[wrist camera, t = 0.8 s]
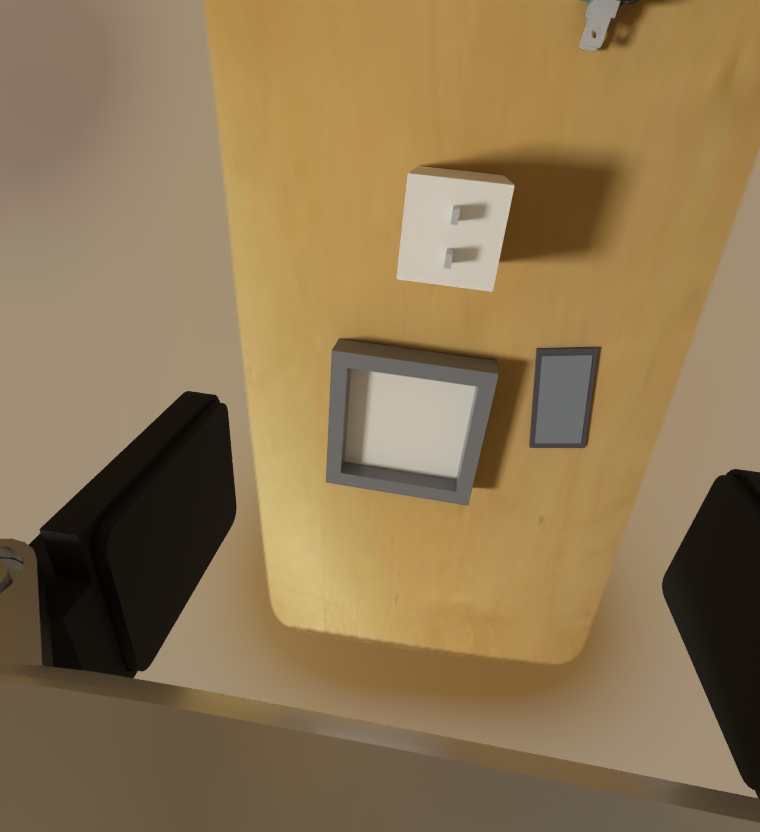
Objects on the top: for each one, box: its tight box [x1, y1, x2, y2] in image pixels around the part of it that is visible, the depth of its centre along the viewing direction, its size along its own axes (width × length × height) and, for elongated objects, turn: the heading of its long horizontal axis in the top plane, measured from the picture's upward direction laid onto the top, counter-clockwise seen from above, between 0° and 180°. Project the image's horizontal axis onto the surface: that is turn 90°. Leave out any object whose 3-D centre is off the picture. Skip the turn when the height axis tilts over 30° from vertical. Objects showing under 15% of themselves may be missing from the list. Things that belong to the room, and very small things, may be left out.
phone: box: [529, 347, 599, 448], centre depth 32 cm, size 7×4×1 cm, turn 5°
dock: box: [326, 339, 499, 505], centre depth 33 cm, size 10×10×2 cm
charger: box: [397, 166, 515, 292], centre depth 24 cm, size 5×4×7 cm
